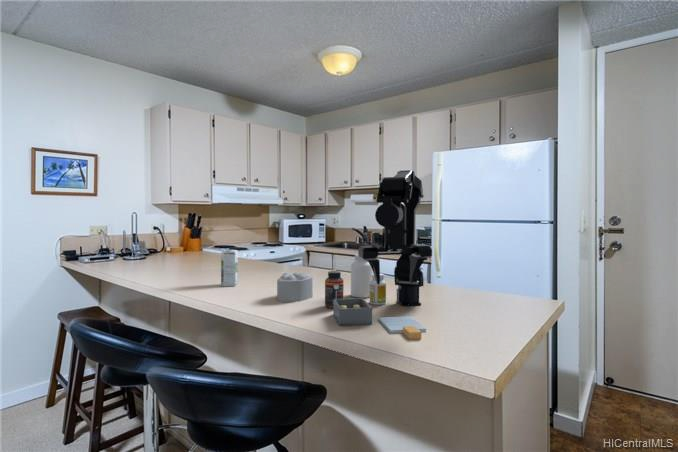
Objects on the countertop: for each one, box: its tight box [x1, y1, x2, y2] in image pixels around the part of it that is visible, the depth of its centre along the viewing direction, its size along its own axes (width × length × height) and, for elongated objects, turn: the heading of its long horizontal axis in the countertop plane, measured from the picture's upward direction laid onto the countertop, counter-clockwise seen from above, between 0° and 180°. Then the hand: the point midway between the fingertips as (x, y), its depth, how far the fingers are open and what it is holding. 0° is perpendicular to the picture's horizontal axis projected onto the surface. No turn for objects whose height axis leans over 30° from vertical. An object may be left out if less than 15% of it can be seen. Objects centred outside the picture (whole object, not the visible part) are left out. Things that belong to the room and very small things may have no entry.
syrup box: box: [220, 249, 239, 287], centre depth 147 cm, size 6×6×14 cm
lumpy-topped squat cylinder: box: [276, 271, 314, 303], centre depth 126 cm, size 10×13×9 cm
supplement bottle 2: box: [369, 273, 387, 306], centre depth 119 cm, size 5×5×10 cm
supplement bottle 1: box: [324, 270, 344, 309], centre depth 114 cm, size 6×6×11 cm
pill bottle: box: [350, 253, 374, 299], centre depth 129 cm, size 8×8×15 cm
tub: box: [332, 297, 373, 327], centre depth 101 cm, size 9×11×4 cm
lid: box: [378, 315, 427, 340], centre depth 93 cm, size 9×16×2 cm, turn 9°
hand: (394, 283), depth 94 cm, fingers open, 9 cm apart
